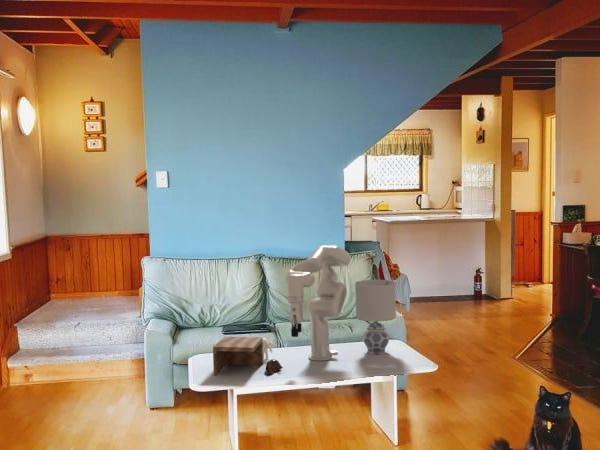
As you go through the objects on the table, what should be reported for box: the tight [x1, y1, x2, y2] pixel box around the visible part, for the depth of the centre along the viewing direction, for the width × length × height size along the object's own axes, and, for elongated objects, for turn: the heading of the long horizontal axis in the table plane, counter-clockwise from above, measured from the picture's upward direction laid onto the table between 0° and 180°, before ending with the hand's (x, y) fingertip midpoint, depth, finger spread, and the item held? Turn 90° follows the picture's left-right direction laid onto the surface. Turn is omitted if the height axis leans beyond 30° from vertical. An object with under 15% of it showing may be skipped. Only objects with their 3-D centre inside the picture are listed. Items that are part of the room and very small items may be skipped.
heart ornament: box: [265, 358, 283, 376], centre depth 286 cm, size 6×12×11 cm
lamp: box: [354, 279, 397, 355], centre depth 315 cm, size 22×22×38 cm
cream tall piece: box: [262, 335, 274, 361], centre depth 307 cm, size 9×4×12 cm, turn 98°
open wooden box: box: [212, 336, 264, 376], centre depth 289 cm, size 20×20×14 cm
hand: (296, 334), depth 283 cm, fingers open, 9 cm apart
